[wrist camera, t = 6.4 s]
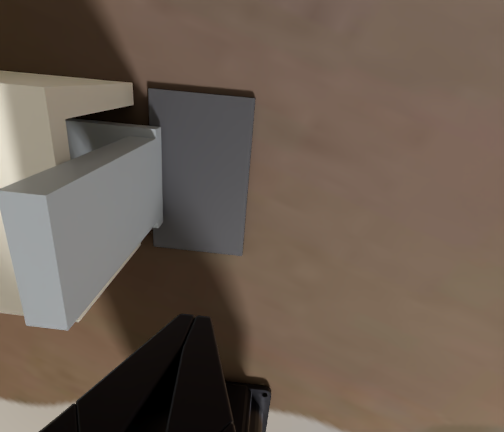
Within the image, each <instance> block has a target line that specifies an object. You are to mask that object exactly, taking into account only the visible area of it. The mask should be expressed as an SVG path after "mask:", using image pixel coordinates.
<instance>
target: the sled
mask: <svg viewBox="0 0 504 432" xmlns="http://www.w3.org/2000/svg"><path fill="white" fill-rule="evenodd" d="M65 121H66V128H67V136H68V144H69V152H70V159H71V160H69V161H67V162H64V163H62V164H59V165H57V166H54V167H52V168H49V169H47V170H44V171H42V172H40V173H37V174H35V175H32V176H30V177H27V178H25V179H22V180H20V181H18V182H15V183H13V184H10V185H8V186H5V187H3V188H0V211H1V216H2V220H3V224H4V229H5V233H6V238H7V242H8V247H9V251H10V256H11V260H12V264H13V269H14V273H15V278H16V282H17V287H18V291H19V295H20V300H21V304H22V309H23V313H24V318H25V322H26V326H35V327H43V328H52V329H60V330H69V329H70V328H71V326H72V325H73V324H74V323H75V321H76V320H77V319H78V318H79V317H80V315H81V314H82V313H83V312H84V311H85V309H86V308H87V307H88V306H89V304H90V303H91V302H92V301H93V300H94V298H95V297H96V296H97V295H98V293H99V292H100V291H101V290H102V289H103V287H104V286H105V285H106V284H107V283H108V281H109V280H110V279H111V278H112V276H113V275H114V274H115V273H116V272H117V270H118V269H119V268H120V267H121V266H122V264H123V263H124V262H125V261H126V259H127V258H128V257H129V256H130V255H131V253H132V252H133V251H134V250H135V249H136V247H137V246H138V245H139V244H140V242H141V241H142V240H143V239H144V238H145V236H146V235H147V234H148V233H149V231H150V230H151V229H152V228H159V227H160V226H161V224H162V223H163V197H162V150H161V127H156V126H146V125H135V124H125V123H115V122H104V121H94V120H84V119H74V118H68V119H65Z"/></svg>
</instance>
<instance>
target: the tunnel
mask: <svg viewBox="0 0 504 432" xmlns="http://www.w3.org/2000/svg"><path fill="white" fill-rule="evenodd" d="M148 97H149V126H156V127H161V150H162V197H163V223H162V224H161V226H160V227H159V228H153V242H154V246H155V247H164V248H173V249H182V250H192V251H201V252H210V253H219V254H228V255H237V256H242V253H243V241H244V229H245V217H246V205H247V193H248V181H249V169H250V157H251V145H252V133H253V121H254V109H255V98H250V97H239V96H228V95H218V94H207V93H196V92H186V91H175V90H164V89H154V88H148ZM131 105H134V102H133V83H130V82H119V81H108V80H98V79H87V78H76V77H66V76H55V75H44V74H33V73H23V72H12V71H1V70H0V188H3V187H5V186H8V185H10V184H13V183H15V182H18V181H20V180H22V179H25V178H27V177H30V176H32V175H35V174H37V173H40V172H42V171H44V170H47V169H49V168H52V167H54V166H57V165H59V164H62V163H64V162H67V161H69V160H71V159H70V152H69V144H68V136H67V128H66V121H65V119H68V118H73V117H78V116H82V115H87V114H92V113H97V112H102V111H107V110H112V109H116V108H121V107H126V106H131ZM140 246H141V242H140V244H139V245H138V246H137V247H136V249H135V250H134V251H133V252H132V253H131V255H130V256H129V257H128V258H127V259H126V261H125V262H124V263H123V264H122V266H121V267H120V268H119V269H118V270H117V272H116V273H115V274H114V275H113V276H112V278H111V279H110V280H109V281H108V283H107V284H106V285H105V286H104V287H103V289H102V290H101V291H100V292H99V293H98V295H97V296H96V297H95V298H94V300H93V301H92V302H91V303H90V304H89V306H88V307H87V308H86V309H85V311H84V312H83V313H82V314H81V315H80V317H79V318H78V319H77V320H76V321H75V322H79V321H80V320H81V319H82V318H83V316H84V315H85V314H86V313H87V311H88V310H89V309H90V308H91V306H92V305H93V304H94V303H95V302H96V300H97V299H98V298H99V297H100V295H101V294H102V293H103V292H104V290H105V289H106V288H107V287H108V285H109V284H110V283H111V282H112V280H113V279H114V278H115V277H116V275H117V274H118V273H119V272H120V271H121V269H122V268H123V267H124V266H125V264H126V263H127V262H128V261H129V259H130V258H131V257H132V256H133V254H134V253H135V252H136V251H137V249H138V248H139V247H140ZM0 313H6V314H14V315H23V316H24V313H23V309H22V304H21V300H20V295H19V291H18V287H17V282H16V278H15V273H14V269H13V264H12V260H11V256H10V251H9V247H8V242H7V238H6V233H5V229H4V224H3V220H2V216H1V211H0Z"/></svg>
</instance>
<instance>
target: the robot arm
mask: <svg viewBox="0 0 504 432" xmlns="http://www.w3.org/2000/svg"><path fill="white" fill-rule="evenodd" d="M270 399H271V389H270V388H269V387H266V386H259V385H251V384H243V383H235V382H227V381H225V379H224V375H223V370H222V365H221V361H220V356H219V351H218V346H217V342H216V337H215V332H214V328H213V323H212V319H211V317H207V316H196V317H195V316H194V315H189V314H179V315H178V316H177V317H176V318H174V319H173V320H172V321H171V322H170V323H168V324H167V325H166V326H165V327H164V328H163V329H161V330H160V331H159V332H158V333H157V334H155V335H154V336H153V337H152V338H151V339H149V340H148V341H147V342H146V343H145V344H144V345H142V346H141V347H140V348H139V349H138V350H136V351H135V352H134V353H133V354H132V355H130V356H129V357H128V358H127V359H126V360H125V361H123V362H122V363H121V364H120V365H119V366H117V367H116V368H115V369H114V370H113V371H111V372H110V373H109V374H108V375H107V376H106V377H104V378H103V379H102V380H101V381H100V382H98V383H97V384H96V385H95V386H94V387H92V388H91V389H90V390H89V391H88V392H87V393H85V394H84V395H83V396H82V397H81V398H79V399H78V400H77V401H76V404H72V405H71V406H70V407H69V408H67V409H66V410H65V411H64V412H63V413H61V414H60V415H59V416H58V417H57V418H55V419H54V420H53V421H52V422H50V423H49V424H48V425H47V426H46V427H44V428H43V429H42V430H40V431H39V432H266V426H267V419H268V412H269V406H270Z"/></svg>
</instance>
